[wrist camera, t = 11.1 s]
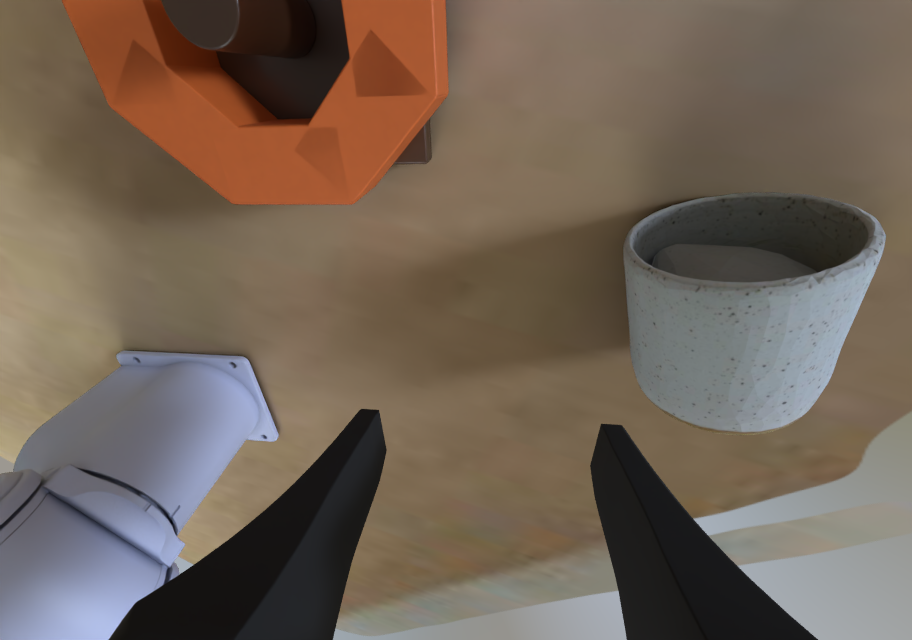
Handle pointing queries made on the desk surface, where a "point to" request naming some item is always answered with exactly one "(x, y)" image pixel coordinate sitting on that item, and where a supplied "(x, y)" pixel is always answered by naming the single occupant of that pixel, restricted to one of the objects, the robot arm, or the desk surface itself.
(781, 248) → the ceramic mug
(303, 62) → the stand
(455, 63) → the desk surface
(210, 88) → the ring
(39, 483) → the robot arm
